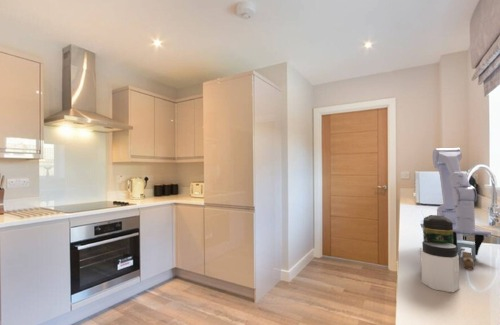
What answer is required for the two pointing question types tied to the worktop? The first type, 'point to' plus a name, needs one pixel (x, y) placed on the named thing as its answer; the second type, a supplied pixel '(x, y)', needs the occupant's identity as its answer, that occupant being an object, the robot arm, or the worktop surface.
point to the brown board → (468, 260)
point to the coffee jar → (437, 229)
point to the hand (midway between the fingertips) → (466, 253)
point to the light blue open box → (468, 245)
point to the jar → (440, 266)
